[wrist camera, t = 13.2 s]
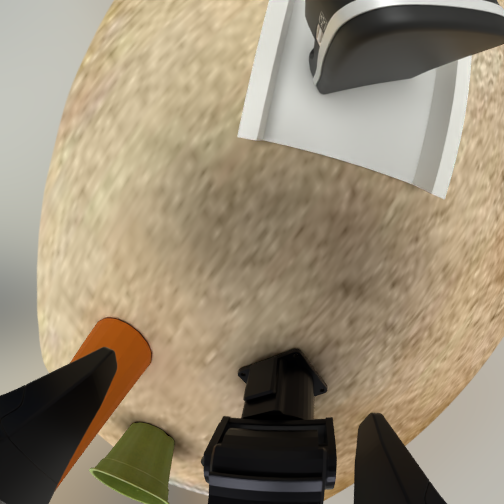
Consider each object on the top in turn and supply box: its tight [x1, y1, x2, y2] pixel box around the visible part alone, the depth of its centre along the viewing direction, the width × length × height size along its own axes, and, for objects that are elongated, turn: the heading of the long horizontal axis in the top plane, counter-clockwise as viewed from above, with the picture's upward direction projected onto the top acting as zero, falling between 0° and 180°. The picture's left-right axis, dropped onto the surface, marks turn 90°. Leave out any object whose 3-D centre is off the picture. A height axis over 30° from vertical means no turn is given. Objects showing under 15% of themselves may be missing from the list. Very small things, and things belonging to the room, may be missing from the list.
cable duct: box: [237, 0, 472, 199], centre depth 12 cm, size 14×12×4 cm
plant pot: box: [89, 422, 175, 504], centre depth 29 cm, size 12×12×11 cm
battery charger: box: [305, 0, 504, 94], centre depth 8 cm, size 7×4×11 cm, turn 109°
